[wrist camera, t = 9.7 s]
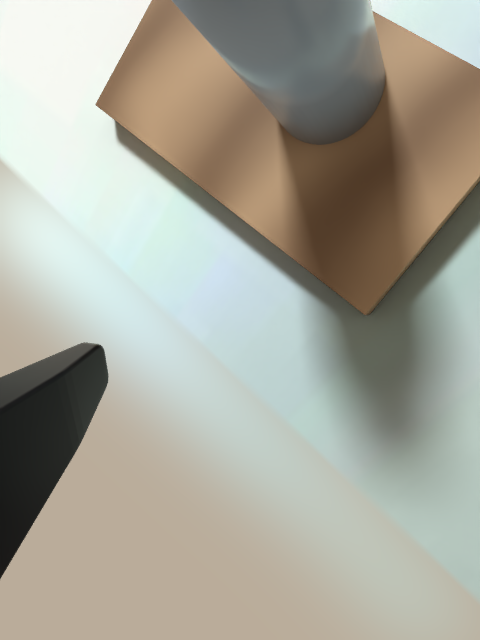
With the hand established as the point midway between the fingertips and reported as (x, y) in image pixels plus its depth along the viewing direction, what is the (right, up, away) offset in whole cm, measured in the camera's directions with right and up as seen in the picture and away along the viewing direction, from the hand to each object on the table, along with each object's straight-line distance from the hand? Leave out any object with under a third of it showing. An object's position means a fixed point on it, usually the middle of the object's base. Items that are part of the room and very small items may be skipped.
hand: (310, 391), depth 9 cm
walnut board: (+1, +11, +13) cm, 17 cm away
